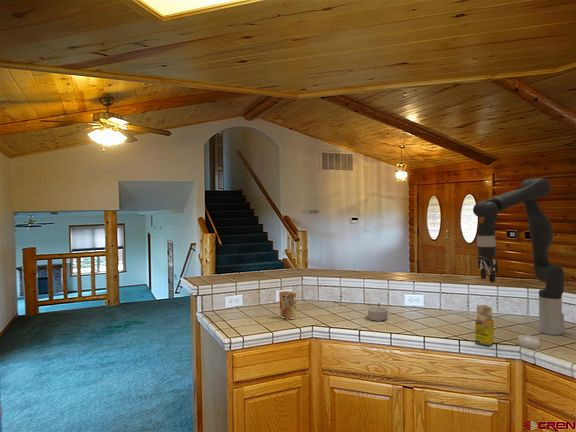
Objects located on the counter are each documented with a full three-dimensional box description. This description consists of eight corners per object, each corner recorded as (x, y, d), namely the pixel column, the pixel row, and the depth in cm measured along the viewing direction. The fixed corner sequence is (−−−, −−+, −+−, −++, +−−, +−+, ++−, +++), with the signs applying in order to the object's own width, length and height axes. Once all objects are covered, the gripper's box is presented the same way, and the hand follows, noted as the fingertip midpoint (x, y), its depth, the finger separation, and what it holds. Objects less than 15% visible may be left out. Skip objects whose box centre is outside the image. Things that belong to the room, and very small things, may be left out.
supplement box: (475, 344, 174) (474, 319, 174) (480, 340, 178) (479, 317, 178) (489, 347, 170) (489, 322, 169) (494, 343, 174) (493, 319, 174)
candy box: (296, 318, 220) (296, 291, 220) (294, 320, 217) (293, 293, 216) (282, 316, 224) (282, 290, 224) (279, 318, 220) (279, 292, 220)
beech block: (487, 318, 176) (486, 305, 176) (491, 321, 171) (491, 307, 171) (476, 318, 176) (476, 305, 176) (481, 321, 171) (481, 307, 171)
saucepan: (389, 313, 228) (389, 303, 228) (387, 322, 209) (387, 312, 209) (369, 312, 231) (369, 302, 231) (366, 321, 212) (366, 311, 212)
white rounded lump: (532, 342, 174) (532, 335, 174) (543, 349, 166) (543, 341, 166) (514, 342, 175) (514, 334, 175) (524, 349, 167) (523, 341, 167)
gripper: (502, 246, 170) (504, 283, 170) (487, 243, 184) (488, 277, 184) (485, 247, 170) (486, 283, 170) (471, 244, 184) (472, 278, 185)
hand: (487, 280), depth 177 cm, fingers open, 8 cm apart
